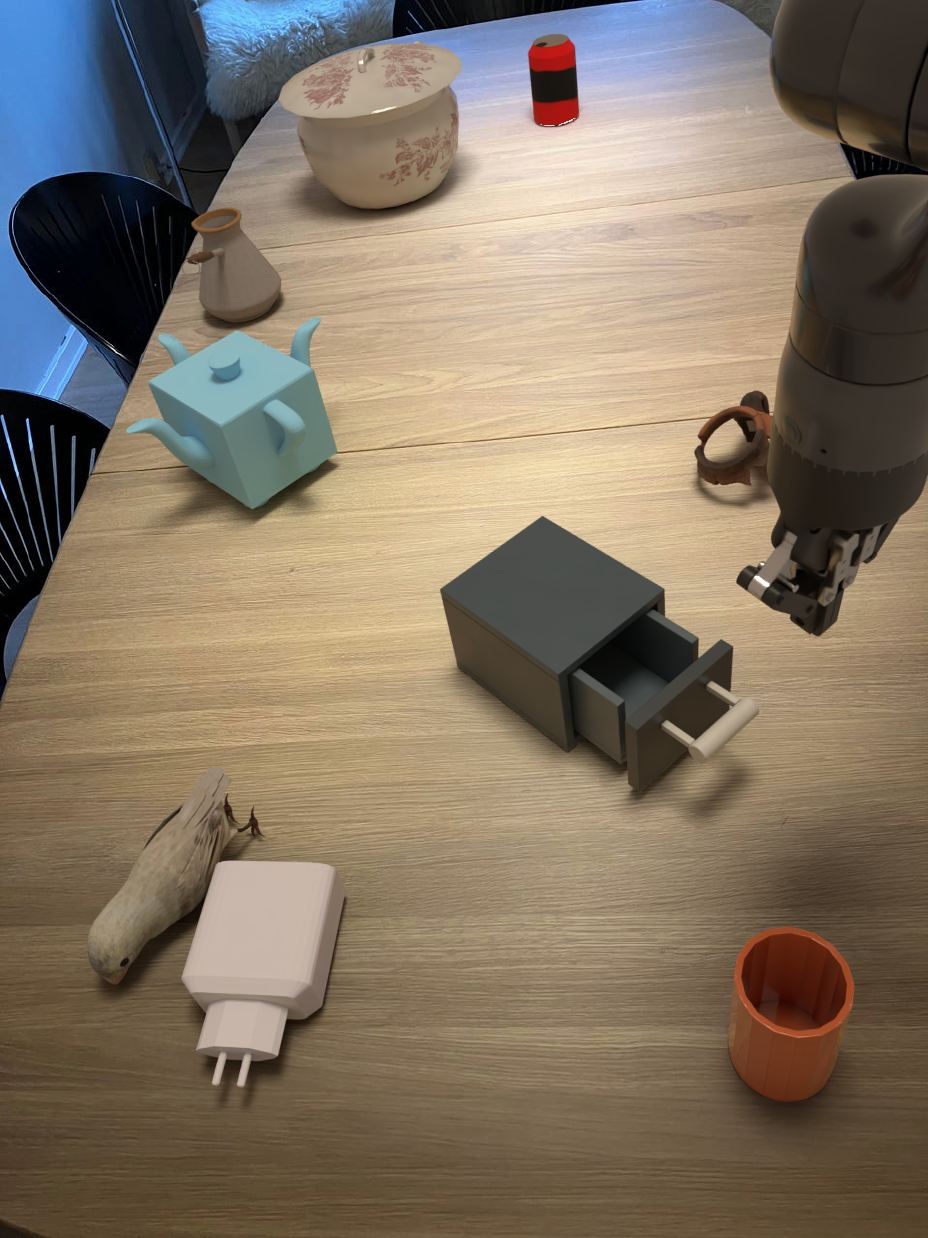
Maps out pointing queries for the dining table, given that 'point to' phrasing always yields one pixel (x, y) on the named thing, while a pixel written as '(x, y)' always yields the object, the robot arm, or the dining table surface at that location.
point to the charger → (261, 955)
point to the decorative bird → (165, 876)
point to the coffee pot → (232, 269)
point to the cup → (788, 1012)
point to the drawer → (657, 698)
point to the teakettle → (242, 413)
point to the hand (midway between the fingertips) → (813, 621)
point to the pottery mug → (756, 430)
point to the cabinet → (541, 619)
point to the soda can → (553, 79)
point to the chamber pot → (378, 121)
